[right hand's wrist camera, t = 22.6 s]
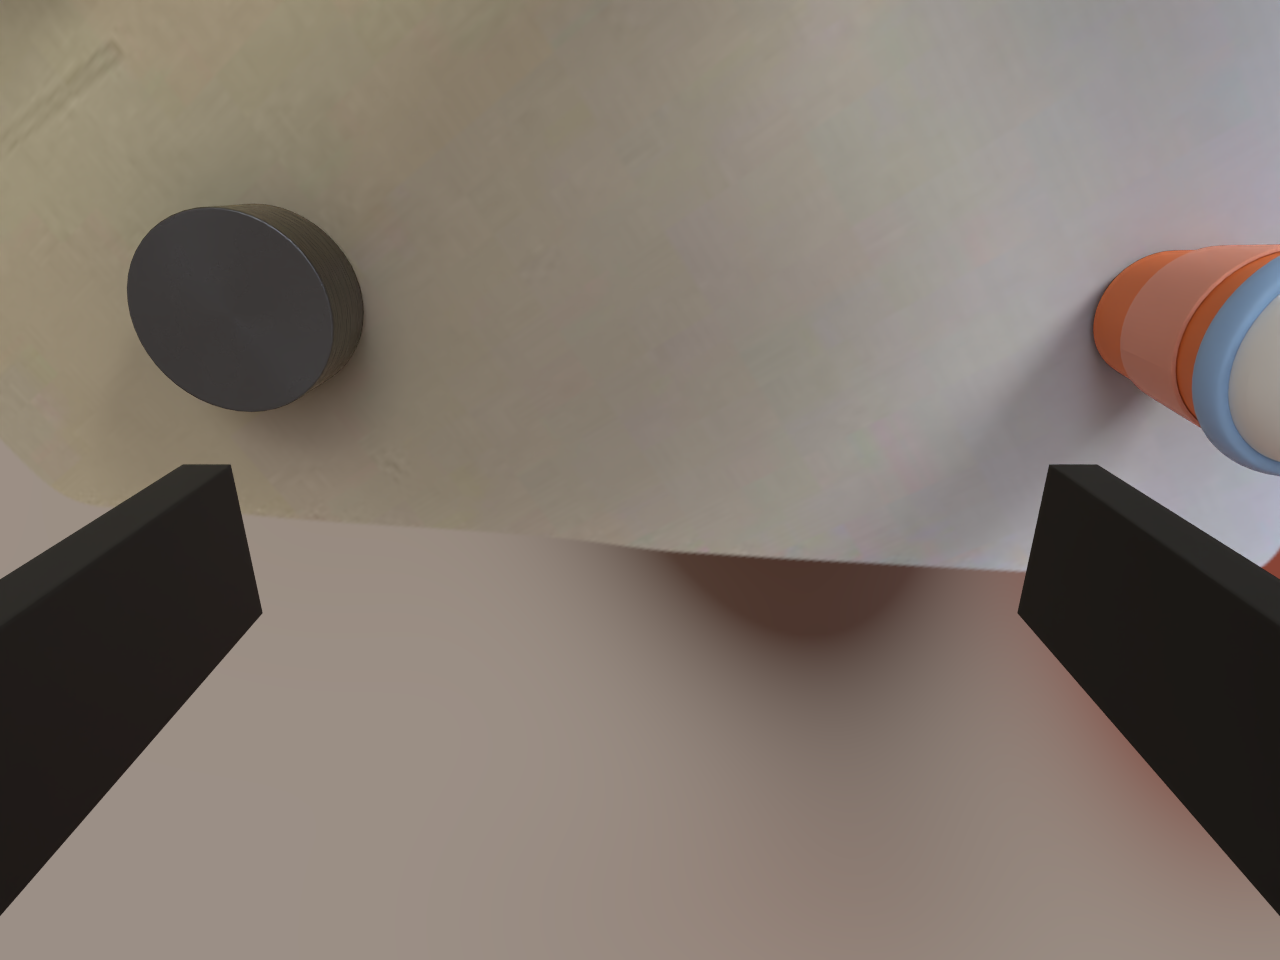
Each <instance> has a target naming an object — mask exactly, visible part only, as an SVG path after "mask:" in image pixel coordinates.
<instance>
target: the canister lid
mask: <svg viewBox="0 0 1280 960" xmlns="http://www.w3.org/2000/svg"><path fill="white" fill-rule="evenodd" d="M127 297H128V305H129V311H130V316H131V319H132V322H133V325H134V328H135V331H136V333H137V335H138V337H139V339H140V341H141V343H142V345H143V347H144V348H145V350H146V352H147V353H148V355H149V356H150V357H151V359H152V360H153V361H154V363H155V364H156V365H157V366H158V367H159V368H160V370H161V371H162V372H163V373H164V374H165V375H166V376H167V377H168V378H169V379H171V380H172V381H173V382H174V383H175V384H176V385H178V386H179V387H181V388H182V389H183V390H185V391H186V392H188V393H189V394H191V395H193V396H195V397H196V398H198V399H200V400H202V401H205V402H207V403H209V404H212V405H215V406H218V407H221V408H225V409H230V410H236V411H246V412H256V411H266V410H271V409H276V408H279V407H282V406H284V405H287V404H289V403H291V402H293V401H295V400H297V399H298V398H300V397H301V396H303V395H305V394H306V393H308V392H309V391H311V390H312V389H314V388H315V387H317V386H318V385H320V384H322V383H323V382H325V381H326V380H328V379H329V378H331V377H332V376H333V375H335V374H336V373H337V372H338V371H339V370H340V369H341V368H342V367H343V366H344V365H345V364H346V363H347V362H348V360H349V359H350V358H351V356H352V354H353V352H354V350H355V349H356V347H357V344H358V341H359V338H360V335H361V330H362V325H363V303H362V297H361V292H360V288H359V285H358V282H357V279H356V276H355V274H354V272H353V269H352V267H351V265H350V263H349V262H348V260H347V259H346V257H345V255H344V254H343V252H342V251H341V250H340V249H339V247H338V246H337V245H336V243H335V242H334V241H333V240H332V239H331V238H330V237H329V236H328V235H327V234H326V233H325V232H323V231H322V230H321V229H320V228H318V227H317V226H316V225H315V224H313V223H312V222H310V221H308V220H307V219H305V218H304V217H302V216H300V215H298V214H295V213H293V212H291V211H288V210H285V209H282V208H280V207H275V206H270V205H264V204H243V205H228V206H214V207H200V208H193V209H189V210H184V211H181V212H179V213H176V214H174V215H171V216H169V217H168V218H166V219H164V220H163V221H161V222H160V223H158V224H157V225H156V226H155V227H154V228H152V229H151V230H150V231H149V233H148V234H147V235H146V236H145V237H144V238H143V240H142V241H141V243H140V245H139V246H138V248H137V250H136V252H135V254H134V256H133V259H132V261H131V265H130V269H129V273H128V283H127Z"/></svg>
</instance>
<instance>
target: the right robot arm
mask: <svg viewBox="0 0 1280 960" xmlns="http://www.w3.org/2000/svg"><path fill="white" fill-rule="evenodd" d="M261 614H262V608H261V604H260V599H259V594H258V590H257V585H256V580H255V576H254V571H253V566H252V562H251V557H250V552H249V548H248V543H247V538H246V534H245V529H244V524H243V520H242V515H241V510H240V506H239V501H238V496H237V492H236V487H235V482H234V478H233V473H232V468H231V465H181V466H180V467H178V468H177V469H175V470H173V471H172V472H170V473H169V474H167V475H166V476H164V477H162V478H161V479H159V480H158V481H156V482H154V483H153V484H151V485H150V486H148V487H146V488H145V489H143V490H142V491H140V492H138V493H137V494H135V495H134V496H132V497H131V498H129V499H127V500H126V501H124V502H123V503H121V504H119V505H118V506H116V507H115V508H113V509H111V510H110V511H108V512H107V513H105V514H103V515H102V516H100V517H99V518H97V519H96V520H94V521H92V522H91V523H89V524H88V525H86V526H84V527H83V528H81V529H80V530H78V531H77V532H75V533H73V534H72V535H70V536H69V537H67V538H65V539H64V540H62V541H61V542H59V543H57V544H56V545H54V546H53V547H51V548H49V549H48V550H46V551H45V552H43V553H42V554H40V555H38V556H37V557H35V558H34V559H32V560H30V561H29V562H27V563H26V564H24V565H22V566H21V567H19V568H18V569H16V570H15V571H13V572H11V573H10V574H8V575H6V576H5V577H3V578H2V579H0V915H1V914H2V913H3V912H4V911H5V910H6V908H7V907H8V906H9V905H10V904H11V903H12V902H13V901H14V899H15V898H16V897H17V896H18V895H19V894H20V892H21V891H22V890H23V889H24V888H25V887H26V885H27V884H28V883H29V882H30V881H31V880H32V879H33V877H34V876H35V875H36V874H37V873H38V872H39V870H40V869H41V868H42V867H43V866H44V865H45V864H46V862H47V861H48V860H49V859H50V858H51V857H52V855H53V854H54V853H55V852H56V851H57V850H58V849H59V847H60V846H61V845H62V844H63V843H64V842H65V840H66V839H67V838H68V837H69V836H70V835H71V833H72V832H73V831H74V830H75V829H76V828H77V827H78V825H79V824H80V823H81V822H82V821H83V820H84V819H85V817H86V816H87V815H88V814H89V813H90V812H91V810H92V809H93V808H94V807H95V806H96V805H97V804H98V802H99V801H100V800H101V799H102V798H103V796H104V795H105V794H106V793H107V792H108V791H109V790H110V788H111V787H112V786H113V785H114V784H115V783H116V782H117V780H118V779H119V778H120V777H121V776H122V775H123V773H124V772H125V771H126V770H127V769H128V768H129V767H130V765H131V764H132V763H133V762H134V761H135V760H136V758H137V757H138V756H139V755H140V754H141V753H142V752H143V750H144V749H145V748H146V747H147V746H148V745H149V743H150V742H151V741H152V740H153V739H154V738H155V737H156V735H157V734H158V733H159V732H160V731H161V730H162V728H163V727H164V726H165V725H166V724H167V723H168V722H169V720H170V719H171V718H172V717H173V716H174V715H175V713H176V712H177V711H178V710H179V709H180V708H181V707H182V705H183V704H184V703H185V702H186V701H187V700H188V698H189V697H190V696H191V695H192V694H193V693H194V692H195V690H196V689H197V688H198V687H199V686H200V685H201V683H202V682H203V681H204V680H205V679H206V678H207V677H208V675H209V674H210V673H211V672H212V671H213V670H214V668H215V667H216V666H217V665H218V664H219V663H220V662H221V660H222V659H223V658H224V657H225V656H226V655H227V653H228V652H229V651H230V650H231V649H232V648H233V647H234V645H235V644H236V643H237V642H238V641H239V639H240V638H241V637H242V636H243V635H244V634H245V633H246V631H247V630H248V629H249V628H250V627H251V626H252V625H253V623H254V622H255V621H256V620H257V619H258V618H259V616H260V615H261ZM1018 614H1019V615H1020V616H1021V618H1022V619H1023V620H1024V621H1025V622H1026V623H1027V625H1028V626H1029V627H1030V628H1031V629H1032V630H1033V631H1034V633H1035V634H1036V635H1037V636H1038V637H1039V638H1040V640H1041V641H1042V642H1043V643H1044V644H1045V645H1046V646H1047V648H1048V649H1049V650H1050V651H1051V652H1052V653H1053V655H1054V656H1055V657H1056V658H1057V659H1058V660H1059V661H1060V663H1061V664H1062V665H1063V666H1064V667H1065V668H1066V670H1067V671H1068V672H1069V673H1070V674H1071V675H1072V676H1073V678H1074V679H1075V680H1076V681H1077V682H1078V683H1079V685H1080V686H1081V687H1082V688H1083V689H1084V690H1085V691H1086V693H1087V694H1088V695H1089V696H1090V697H1091V698H1092V700H1093V701H1094V702H1095V703H1096V704H1097V705H1098V706H1099V708H1100V709H1101V710H1102V711H1103V712H1104V713H1105V715H1106V716H1107V717H1108V718H1109V719H1110V720H1111V722H1112V723H1113V724H1114V725H1115V726H1116V727H1117V728H1118V730H1119V731H1120V732H1121V733H1122V734H1123V735H1124V737H1125V738H1126V739H1127V740H1128V741H1129V742H1130V743H1131V745H1132V746H1133V747H1134V748H1135V749H1136V750H1137V752H1138V753H1139V754H1140V755H1141V756H1142V757H1143V758H1144V760H1145V761H1146V762H1147V763H1148V764H1149V765H1150V767H1151V768H1152V769H1153V770H1154V771H1155V772H1156V773H1157V775H1158V776H1159V777H1160V778H1161V779H1162V780H1163V781H1164V783H1165V784H1166V785H1167V786H1168V787H1169V789H1170V790H1171V791H1172V792H1173V793H1174V794H1175V795H1176V797H1177V798H1178V799H1179V800H1180V801H1181V802H1182V803H1183V805H1184V806H1185V807H1186V808H1187V809H1188V810H1189V812H1190V813H1191V814H1192V815H1193V816H1194V817H1195V819H1196V820H1197V821H1198V822H1199V823H1200V824H1201V825H1202V827H1203V828H1204V829H1205V830H1206V831H1207V832H1208V834H1209V835H1210V836H1211V837H1212V838H1213V839H1214V840H1215V842H1216V843H1217V844H1218V845H1219V846H1220V847H1221V849H1222V850H1223V851H1224V852H1225V853H1226V854H1227V855H1228V857H1229V858H1230V859H1231V860H1232V861H1233V862H1234V864H1235V865H1236V866H1237V867H1238V868H1239V869H1240V870H1241V872H1242V873H1243V874H1244V875H1245V876H1246V877H1247V879H1248V880H1249V881H1250V882H1251V883H1252V884H1253V885H1254V887H1255V888H1256V889H1257V890H1258V891H1259V892H1260V894H1261V895H1262V896H1263V897H1264V898H1265V899H1266V901H1267V902H1268V903H1269V904H1270V905H1271V906H1272V907H1273V909H1274V910H1275V911H1276V912H1277V913H1278V914H1279V916H1280V579H1278V578H1277V577H1275V576H1274V575H1272V574H1270V573H1269V572H1267V571H1266V570H1264V569H1262V568H1261V567H1259V566H1258V565H1256V564H1254V563H1253V562H1251V561H1250V560H1248V559H1246V558H1245V557H1243V556H1242V555H1240V554H1239V553H1237V552H1235V551H1234V550H1232V549H1231V548H1229V547H1227V546H1226V545H1224V544H1223V543H1221V542H1219V541H1218V540H1216V539H1215V538H1213V537H1211V536H1210V535H1208V534H1207V533H1205V532H1204V531H1202V530H1200V529H1199V528H1197V527H1196V526H1194V525H1192V524H1191V523H1189V522H1188V521H1186V520H1184V519H1183V518H1181V517H1180V516H1178V515H1177V514H1175V513H1173V512H1172V511H1170V510H1169V509H1167V508H1165V507H1164V506H1162V505H1161V504H1159V503H1157V502H1156V501H1154V500H1153V499H1151V498H1149V497H1148V496H1146V495H1145V494H1143V493H1142V492H1140V491H1138V490H1137V489H1135V488H1134V487H1132V486H1130V485H1129V484H1127V483H1126V482H1124V481H1122V480H1121V479H1119V478H1118V477H1116V476H1114V475H1113V474H1111V473H1110V472H1108V471H1107V470H1105V469H1103V468H1102V467H1100V466H1099V465H1049V468H1048V473H1047V478H1046V482H1045V487H1044V492H1043V496H1042V501H1041V506H1040V510H1039V515H1038V520H1037V524H1036V529H1035V534H1034V538H1033V543H1032V548H1031V552H1030V557H1029V562H1028V566H1027V571H1026V576H1025V580H1024V585H1023V590H1022V594H1021V599H1020V604H1019V608H1018Z"/></svg>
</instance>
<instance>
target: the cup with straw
mask: <svg viewBox="0 0 1280 960" xmlns="http://www.w3.org/2000/svg"><path fill="white" fill-rule="evenodd" d="M1093 333H1094V340H1095V344H1096V347H1097V349H1098V351H1099V353H1100V355H1101V357H1102V358H1103V359H1104V361H1105V362H1106V363H1107V364H1108V365H1109V366H1110V367H1112V368H1113V369H1115V370H1116V371H1117V372H1119V373H1121V374H1122V375H1124V376H1125V377H1127V378H1129V379H1130V380H1131V381H1132V382H1133V383H1134V384H1135V385H1136V386H1137V387H1138V388H1139V389H1140V390H1141V391H1143V392H1144V393H1145V394H1147V395H1148V396H1150V397H1151V398H1153V399H1155V400H1156V401H1158V402H1160V403H1161V404H1163V405H1164V406H1166V407H1168V408H1169V409H1171V410H1173V411H1174V412H1176V413H1177V414H1179V415H1181V416H1182V417H1184V418H1186V419H1187V420H1189V421H1190V422H1192V423H1194V424H1195V425H1197V426H1199V427H1200V428H1202V430H1203V431H1204V433H1205V435H1206V436H1207V438H1208V439H1209V440H1210V441H1211V443H1212V444H1213V445H1214V446H1215V447H1216V448H1217V449H1218V450H1219V451H1220V452H1221V453H1223V454H1224V455H1226V456H1227V457H1228V458H1230V459H1231V460H1233V461H1235V462H1236V463H1238V464H1240V465H1242V466H1245V467H1247V468H1249V469H1252V470H1255V471H1258V472H1262V473H1265V474H1270V475H1276V476H1280V245H1222V246H1211V247H1206V248H1201V249H1198V250H1174V251H1164V252H1159V253H1155V254H1152V255H1149V256H1147V257H1144V258H1142V259H1140V260H1138V261H1136V262H1135V263H1133V264H1131V265H1130V266H1128V267H1127V268H1126V269H1124V270H1123V271H1122V272H1121V273H1120V274H1119V275H1118V276H1117V277H1116V278H1115V279H1114V280H1113V281H1112V282H1111V284H1110V285H1109V286H1108V288H1107V289H1106V291H1105V292H1104V294H1103V296H1102V297H1101V300H1100V302H1099V304H1098V307H1097V310H1096V313H1095V318H1094V325H1093Z"/></svg>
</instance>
